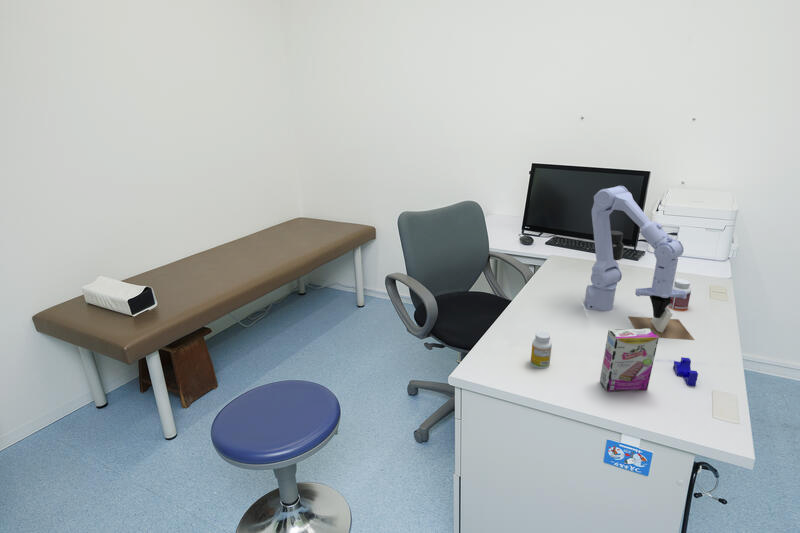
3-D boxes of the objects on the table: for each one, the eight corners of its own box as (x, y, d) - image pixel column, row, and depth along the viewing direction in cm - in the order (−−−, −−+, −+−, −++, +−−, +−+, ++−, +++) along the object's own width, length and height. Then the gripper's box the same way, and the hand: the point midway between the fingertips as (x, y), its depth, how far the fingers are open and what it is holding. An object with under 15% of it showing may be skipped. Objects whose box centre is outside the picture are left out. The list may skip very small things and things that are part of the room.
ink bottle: (607, 252, 223) (611, 228, 219) (625, 256, 217) (629, 232, 213) (597, 257, 218) (600, 232, 213) (615, 261, 211) (619, 236, 207)
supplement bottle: (535, 356, 139) (537, 328, 135) (552, 362, 135) (555, 333, 132) (527, 364, 135) (529, 335, 131) (545, 370, 132) (548, 341, 128)
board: (638, 339, 147) (639, 336, 146) (627, 318, 159) (627, 316, 159) (694, 342, 144) (694, 340, 143) (677, 321, 156) (678, 319, 156)
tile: (657, 331, 148) (667, 312, 145) (650, 321, 154) (660, 303, 152) (662, 332, 148) (673, 314, 145) (655, 322, 154) (665, 304, 152)
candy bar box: (607, 392, 121) (616, 338, 116) (599, 381, 126) (607, 328, 120) (649, 391, 122) (659, 336, 116) (639, 380, 126) (649, 327, 121)
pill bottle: (690, 310, 164) (696, 282, 160) (681, 315, 161) (687, 286, 157) (672, 304, 169) (678, 276, 165) (663, 308, 166) (669, 280, 162)
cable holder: (672, 368, 131) (675, 356, 130) (686, 370, 130) (689, 358, 129) (680, 384, 124) (683, 372, 123) (695, 386, 123) (698, 374, 122)
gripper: (642, 281, 143) (635, 320, 148) (694, 284, 140) (685, 323, 145) (636, 273, 149) (630, 311, 154) (685, 275, 147) (677, 313, 151)
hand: (656, 316), depth 150 cm, fingers closed
